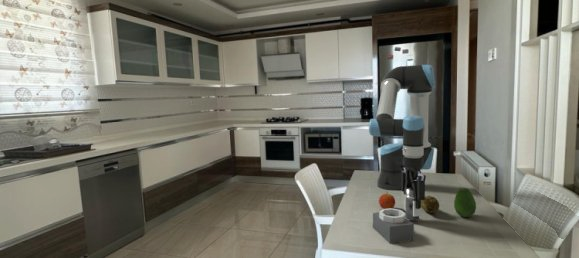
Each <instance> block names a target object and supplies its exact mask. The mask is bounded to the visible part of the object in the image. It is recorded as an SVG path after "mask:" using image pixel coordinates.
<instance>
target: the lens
mask: <svg viewBox="0 0 579 258" xmlns="http://www.w3.org/2000/svg"><path fill="white" fill-rule="evenodd" d="M413 199H414V191H413V185H412V186H410V187H406V192H405V194H404V211H405V212H404V213H406V219H407V220H409V221H418V220H420V216H415V217H414V216H413Z"/></svg>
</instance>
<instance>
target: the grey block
mask: <svg viewBox="0 0 579 258" xmlns="http://www.w3.org/2000/svg"><path fill="white" fill-rule="evenodd" d="M414 224H415V223H413V222H412V221H411V220H408V219H406V213H405V212H404V211H403V210H402V209H398V208H389V209H383V208H382V209H381V210H380V211H377V212H372V229H374V230H375V231H376V232H377V233H378V234H379V235H380V236H381V237H382V238H383V239H384V240H385V241H387V243H389V244H395V243H403V242H404V243H405V242H410V241H411V242H412V241H414V237H415V236H414V234H415V233H414V228H415V227H414Z"/></svg>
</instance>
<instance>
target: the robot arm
mask: <svg viewBox="0 0 579 258" xmlns="http://www.w3.org/2000/svg"><path fill="white" fill-rule="evenodd" d="M434 74H435V73H434V67H433V65H431V64H414V65H404V66H403V65H402V66H401V65H400V66H396V67H394V68H392V69H391V70H389V71H388V72H387V73H386V74H385V76H383V79H382V80H381V84H380V90H381V93H380V97H379V102H378V107H377V112H376V117H375V118H370V120H369V123H368V132H369V135H370V136H373V137H395V138H398V137H399V138H402V143H396V142H395V143H388V144H384V145H383V146H381V147H380V154H379V155H380V172H379V176H378V178H377V181H376V184H377V187H378V188H381V189H384V190H390V191H398V190H399V191H401V192H403V195H405V192H406V187H410V186H412V187H413V191H414V199H413V216H414V217H415V216H419V217H420V216H421V209H422V207H421V200H425V196H426V178H427V176H426V175H425V174H422V170H426V171H427V170H430V169H431V168H432V165H433V161H434V155H435V154H434V153H435V148H434V147H432V143H430V142H429V96H430V95H431V94H432V92H433V89H435V88H436V82H435V81H436V80H435V75H434ZM400 90H406V91H407V94H408V95H409V96H410V98H409V99H410V104H409V107H410V108H409V111H410V113H409V115H408V116H404V117H403V118H395V112H396V107H397V106H396V105H397V101H398V95H399V94H398V93H399V92H400Z"/></svg>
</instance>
